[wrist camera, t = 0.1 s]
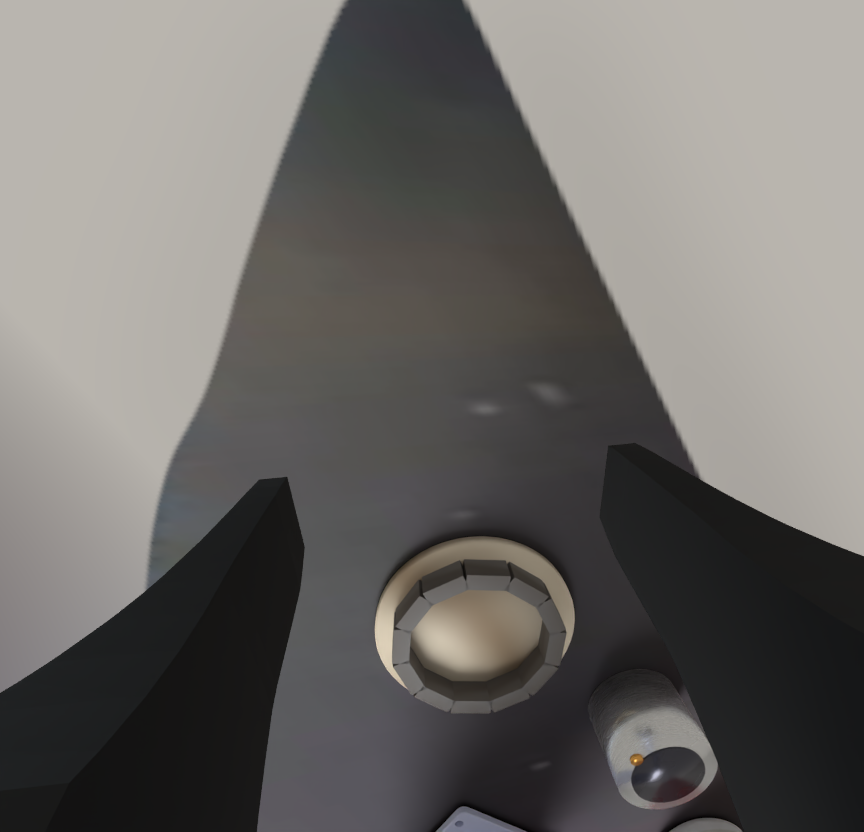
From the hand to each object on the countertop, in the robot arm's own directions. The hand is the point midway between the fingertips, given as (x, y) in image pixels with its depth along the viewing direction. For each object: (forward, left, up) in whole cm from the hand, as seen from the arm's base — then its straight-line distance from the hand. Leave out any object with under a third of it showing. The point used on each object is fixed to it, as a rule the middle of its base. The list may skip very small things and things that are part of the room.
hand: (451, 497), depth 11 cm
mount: (-9, -9, -11) cm, 17 cm away
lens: (-9, -20, -11) cm, 25 cm away
